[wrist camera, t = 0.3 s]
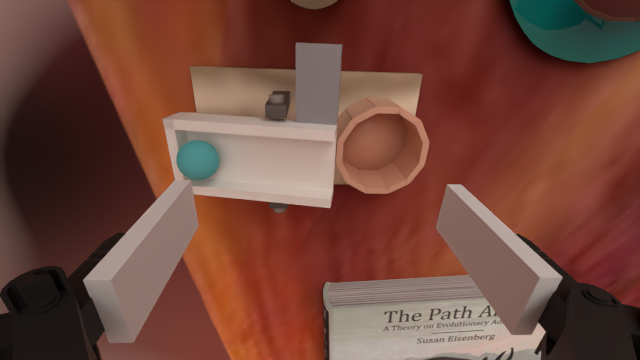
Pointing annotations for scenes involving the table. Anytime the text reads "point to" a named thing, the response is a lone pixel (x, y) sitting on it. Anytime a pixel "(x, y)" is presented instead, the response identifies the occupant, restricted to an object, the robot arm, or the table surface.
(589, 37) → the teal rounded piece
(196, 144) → the ball
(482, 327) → the book
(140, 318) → the robot arm
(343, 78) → the stand
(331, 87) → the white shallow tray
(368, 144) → the cup
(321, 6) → the can
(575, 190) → the table surface
